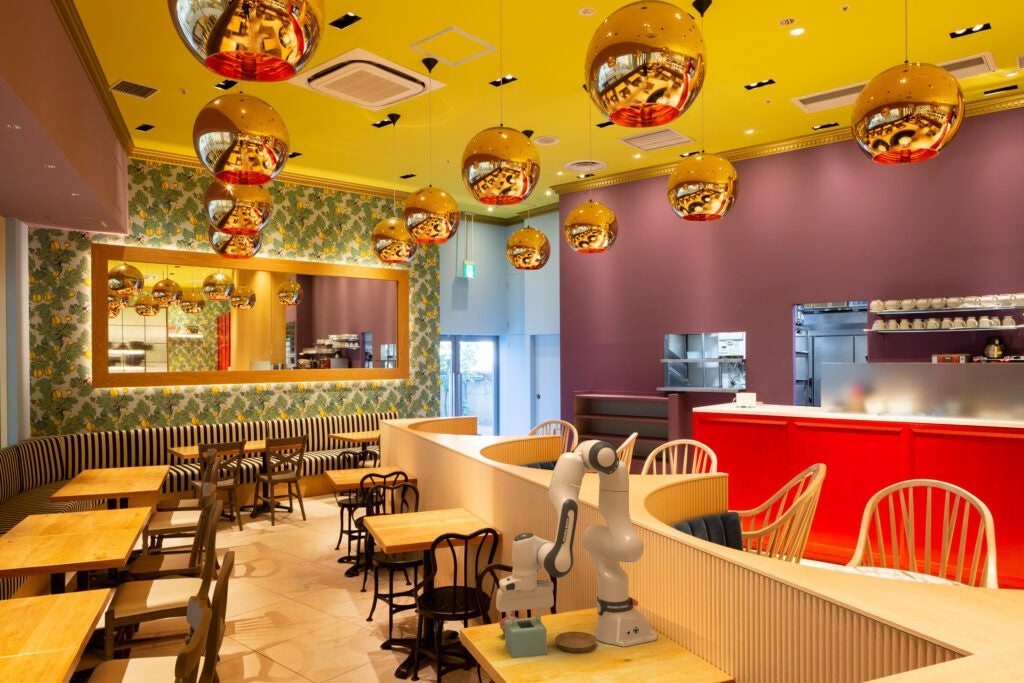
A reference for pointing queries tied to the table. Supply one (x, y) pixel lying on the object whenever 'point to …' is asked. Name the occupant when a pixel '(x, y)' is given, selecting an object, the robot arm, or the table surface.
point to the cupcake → (502, 623)
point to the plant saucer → (575, 641)
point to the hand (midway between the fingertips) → (525, 621)
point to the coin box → (525, 638)
